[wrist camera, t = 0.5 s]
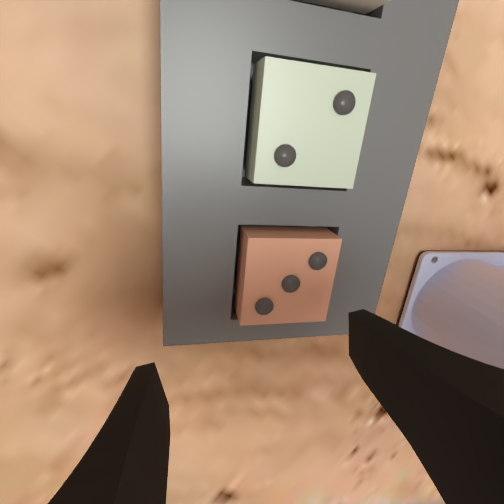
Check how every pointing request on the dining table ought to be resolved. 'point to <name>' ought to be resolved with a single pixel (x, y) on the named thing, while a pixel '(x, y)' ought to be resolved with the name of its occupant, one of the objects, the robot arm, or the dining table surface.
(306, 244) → the tile three
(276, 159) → the tile two
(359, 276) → the tile tray
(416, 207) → the dining table surface
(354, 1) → the tile one
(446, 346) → the robot arm
